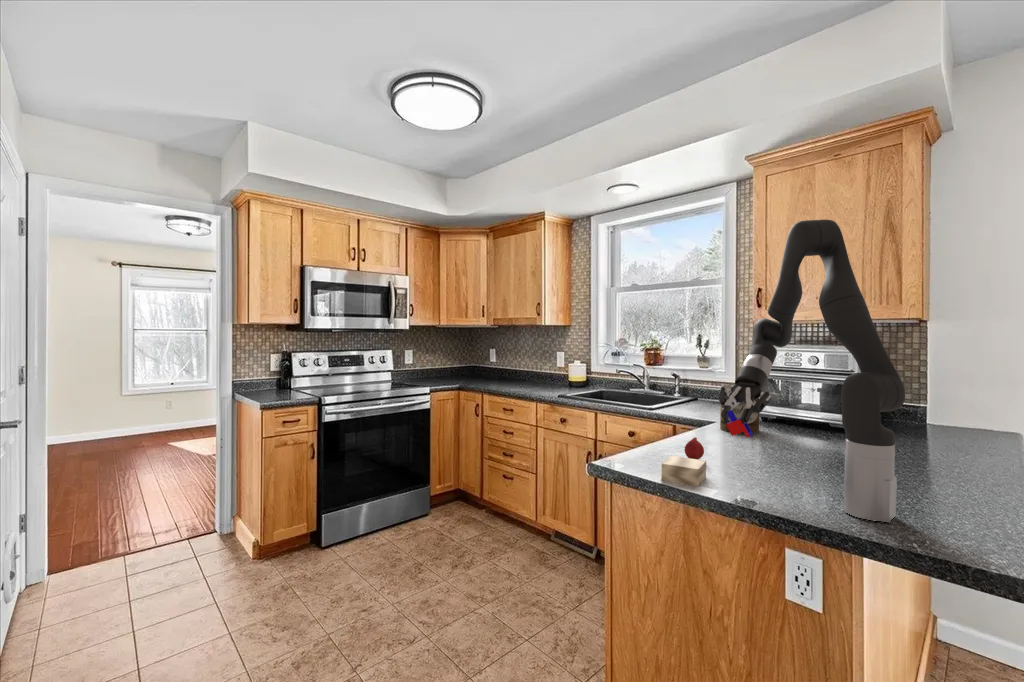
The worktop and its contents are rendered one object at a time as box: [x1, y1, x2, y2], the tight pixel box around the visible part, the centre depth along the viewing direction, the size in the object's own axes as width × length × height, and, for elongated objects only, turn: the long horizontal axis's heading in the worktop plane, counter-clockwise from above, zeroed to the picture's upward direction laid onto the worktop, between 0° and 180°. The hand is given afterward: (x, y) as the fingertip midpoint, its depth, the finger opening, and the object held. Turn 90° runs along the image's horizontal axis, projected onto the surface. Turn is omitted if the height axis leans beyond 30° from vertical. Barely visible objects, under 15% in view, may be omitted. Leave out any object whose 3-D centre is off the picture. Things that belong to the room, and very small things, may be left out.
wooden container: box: [719, 384, 760, 435], centre depth 204 cm, size 15×15×22 cm
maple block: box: [661, 455, 707, 487], centre depth 140 cm, size 10×10×5 cm
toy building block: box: [726, 410, 754, 439], centre depth 134 cm, size 4×4×8 cm
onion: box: [684, 436, 705, 460], centre depth 157 cm, size 6×6×8 cm
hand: (733, 420), depth 133 cm, fingers closed on toy building block, 4 cm apart
